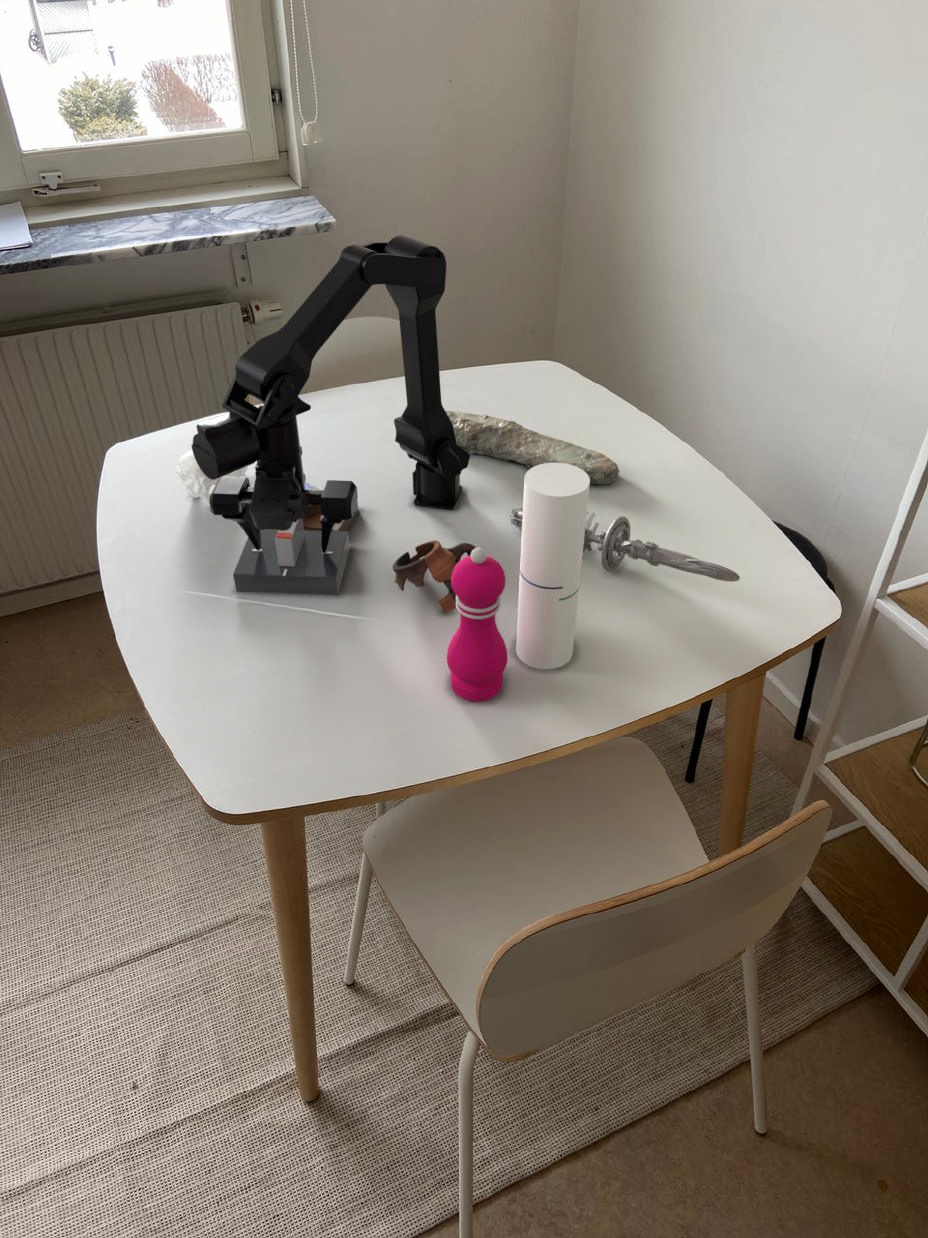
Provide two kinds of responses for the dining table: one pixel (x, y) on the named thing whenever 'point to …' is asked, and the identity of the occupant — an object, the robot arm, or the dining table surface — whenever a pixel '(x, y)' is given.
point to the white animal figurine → (199, 477)
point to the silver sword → (639, 550)
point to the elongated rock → (527, 446)
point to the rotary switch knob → (290, 544)
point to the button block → (315, 516)
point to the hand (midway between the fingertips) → (291, 549)
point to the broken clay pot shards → (432, 567)
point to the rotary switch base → (306, 577)
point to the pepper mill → (477, 628)
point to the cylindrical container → (550, 563)
